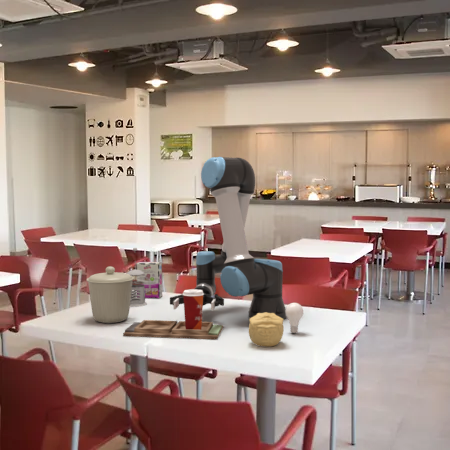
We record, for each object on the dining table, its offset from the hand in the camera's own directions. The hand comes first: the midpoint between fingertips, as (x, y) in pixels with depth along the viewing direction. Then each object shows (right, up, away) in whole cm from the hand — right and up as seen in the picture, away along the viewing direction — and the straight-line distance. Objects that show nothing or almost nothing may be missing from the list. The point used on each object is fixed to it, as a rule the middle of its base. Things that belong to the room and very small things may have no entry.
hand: (193, 306), depth 211 cm
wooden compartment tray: (-7, -9, +1) cm, 12 cm away
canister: (-33, -8, +19) cm, 39 cm away
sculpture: (+25, -11, -15) cm, 31 cm away
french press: (-27, -6, +49) cm, 56 cm away
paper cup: (0, -9, 0) cm, 9 cm away
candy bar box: (-24, -5, +64) cm, 69 cm away
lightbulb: (+36, -10, -1) cm, 37 cm away
